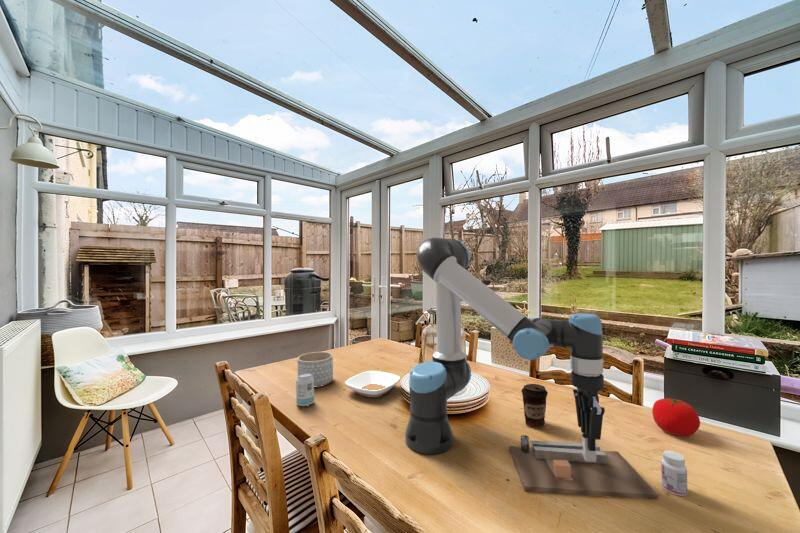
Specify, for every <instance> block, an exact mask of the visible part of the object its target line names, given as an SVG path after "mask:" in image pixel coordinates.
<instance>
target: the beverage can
mask: <svg viewBox="0 0 800 533" xmlns="http://www.w3.org/2000/svg"><path fill="white" fill-rule="evenodd" d="M295 392H296V394H295V395H296V398H295V399H296V400H295V401H296V405H297V406H299V407H301V406H307V405H310V404H311V405H312V404H313V403H314V402H315V388H314V378H313V376H312V374H311V373H301V374H299V375H298V374H297V377H296V379H295ZM311 405H310V406H311ZM307 407H308V406H307Z"/></svg>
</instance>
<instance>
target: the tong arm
mask: <svg viewBox="0 0 800 533" xmlns="http://www.w3.org/2000/svg"><path fill="white" fill-rule="evenodd" d="M603 451H604V450H600V451H596V462H590V461H585V460H584V459H583V450H578V449H565V448H551V447H538V446H534V456H535V459H548V460H567V461H572V462H585V463H597V464H607V460H606V454H605V453H604V452H603Z"/></svg>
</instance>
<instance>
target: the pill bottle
mask: <svg viewBox="0 0 800 533" xmlns="http://www.w3.org/2000/svg"><path fill="white" fill-rule="evenodd" d="M685 460H686V458H685V457H684V456H683V455H682V454H680V453H678V452H676V451H673V450H664V451H663V453H662V459H661V461H660V463H661V464H660V465H661V466H660V467H661V486H662V488H663V489H664V490H666V492H668V493H670V494H673V495H675V496H678V497H679V496H680V497H684V496H687V495H688V491H689V490H688V468H687V466H686V461H685Z"/></svg>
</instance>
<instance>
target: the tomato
mask: <svg viewBox="0 0 800 533" xmlns="http://www.w3.org/2000/svg"><path fill="white" fill-rule="evenodd" d="M651 413H652V417H653V420H654V422H655V425H657V426H658V428H660V429H661V430H663V431H664V432H666V433H668V434H671V435H675V436H679V437H689V436H692V435H694V434H696V433H697V431H699V428H700V426H701V420H700V416H699V415H698V413H697V411H696V410H695V408H693V406H692V405H690V404H689V403H687V402H686V401H683V400H680V399H674V398H671V397H670V398H661V399H657V400H656V401H654V403H653V404H652V412H651Z"/></svg>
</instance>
